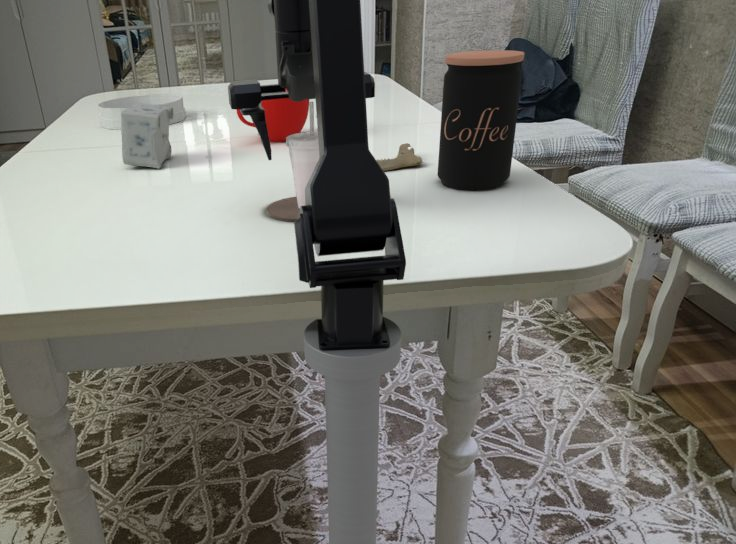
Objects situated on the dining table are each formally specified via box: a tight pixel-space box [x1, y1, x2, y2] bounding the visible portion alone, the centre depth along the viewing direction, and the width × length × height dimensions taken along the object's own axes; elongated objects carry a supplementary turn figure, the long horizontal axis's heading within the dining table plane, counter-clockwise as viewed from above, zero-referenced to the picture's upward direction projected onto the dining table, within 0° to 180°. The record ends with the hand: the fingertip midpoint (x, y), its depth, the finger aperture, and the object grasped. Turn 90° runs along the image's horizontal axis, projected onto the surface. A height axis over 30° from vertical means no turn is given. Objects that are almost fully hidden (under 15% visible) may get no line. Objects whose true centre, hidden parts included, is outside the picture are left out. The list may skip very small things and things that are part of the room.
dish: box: [97, 93, 187, 131], centre depth 165 cm, size 22×22×5 cm
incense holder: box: [120, 103, 173, 170], centre depth 120 cm, size 10×8×10 cm
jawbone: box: [376, 143, 423, 172], centre depth 109 cm, size 9×20×2 cm, turn 115°
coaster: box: [266, 196, 300, 223], centre depth 91 cm, size 11×11×1 cm
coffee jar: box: [437, 49, 525, 191], centre depth 94 cm, size 11×11×18 cm
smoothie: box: [285, 101, 319, 208], centre depth 88 cm, size 6×6×14 cm
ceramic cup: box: [236, 88, 310, 143], centre depth 132 cm, size 13×17×10 cm
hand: (302, 156), depth 88 cm, fingers open, 9 cm apart
